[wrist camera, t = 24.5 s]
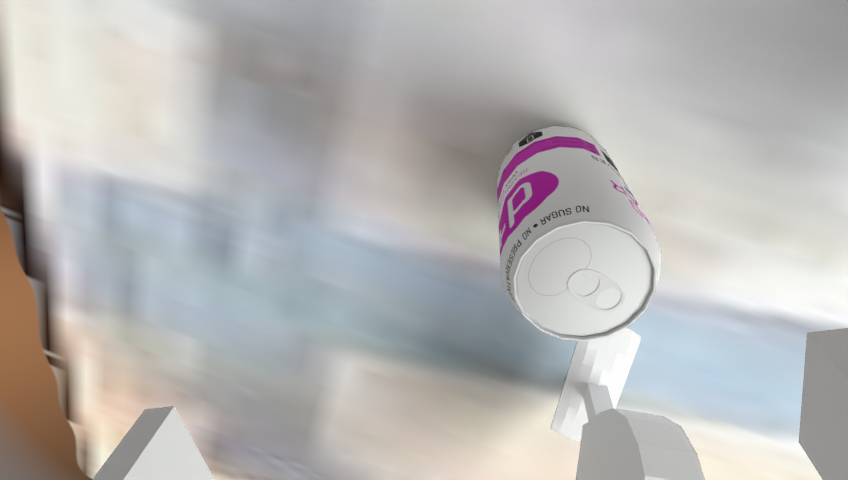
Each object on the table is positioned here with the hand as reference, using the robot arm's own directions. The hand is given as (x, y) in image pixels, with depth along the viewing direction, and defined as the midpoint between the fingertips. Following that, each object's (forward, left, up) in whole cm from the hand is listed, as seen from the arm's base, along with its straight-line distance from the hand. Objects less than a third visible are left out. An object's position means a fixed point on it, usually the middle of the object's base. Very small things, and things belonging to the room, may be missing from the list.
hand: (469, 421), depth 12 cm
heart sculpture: (-5, +27, -31) cm, 41 cm away
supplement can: (-4, +7, -31) cm, 32 cm away
